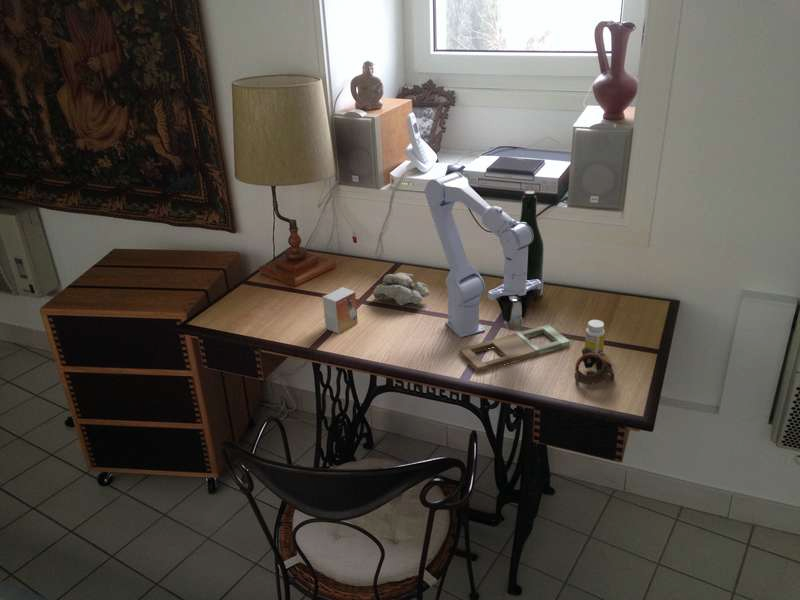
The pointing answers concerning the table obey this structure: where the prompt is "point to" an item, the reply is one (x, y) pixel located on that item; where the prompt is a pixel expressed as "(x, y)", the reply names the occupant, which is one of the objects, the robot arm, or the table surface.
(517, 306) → the peg
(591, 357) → the pottery mug
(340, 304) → the small box
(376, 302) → the table surface
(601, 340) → the supplement bottle
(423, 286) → the mineral
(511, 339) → the board with square holes
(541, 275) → the dark green wine bottle
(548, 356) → the table surface
